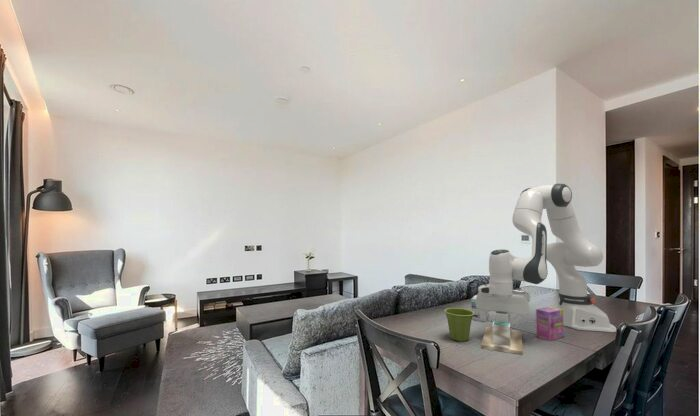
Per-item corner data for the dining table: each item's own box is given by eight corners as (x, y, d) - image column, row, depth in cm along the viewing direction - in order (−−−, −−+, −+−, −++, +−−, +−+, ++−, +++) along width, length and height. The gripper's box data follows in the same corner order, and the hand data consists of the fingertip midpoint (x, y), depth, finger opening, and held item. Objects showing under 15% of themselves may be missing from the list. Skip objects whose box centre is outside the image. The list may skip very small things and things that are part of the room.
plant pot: (458, 345, 124) (458, 316, 125) (439, 336, 135) (438, 309, 135) (481, 341, 129) (480, 313, 129) (460, 332, 139) (459, 306, 140)
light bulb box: (485, 322, 155) (485, 299, 156) (471, 320, 159) (470, 298, 159) (489, 317, 164) (488, 296, 165) (475, 315, 168) (475, 294, 168)
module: (508, 334, 132) (508, 310, 132) (508, 340, 126) (507, 314, 126) (497, 333, 134) (496, 308, 134) (496, 338, 128) (495, 312, 128)
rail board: (521, 333, 138) (520, 313, 138) (522, 354, 115) (521, 329, 115) (486, 328, 144) (486, 309, 145) (481, 348, 121) (480, 324, 122)
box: (550, 341, 129) (549, 311, 130) (536, 337, 134) (535, 308, 135) (564, 337, 134) (563, 308, 134) (550, 333, 139) (549, 305, 139)
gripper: (529, 289, 129) (530, 324, 128) (476, 285, 138) (476, 317, 138) (530, 292, 123) (531, 328, 123) (474, 288, 133) (475, 321, 132)
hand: (502, 323), depth 130 cm, fingers open, 8 cm apart
